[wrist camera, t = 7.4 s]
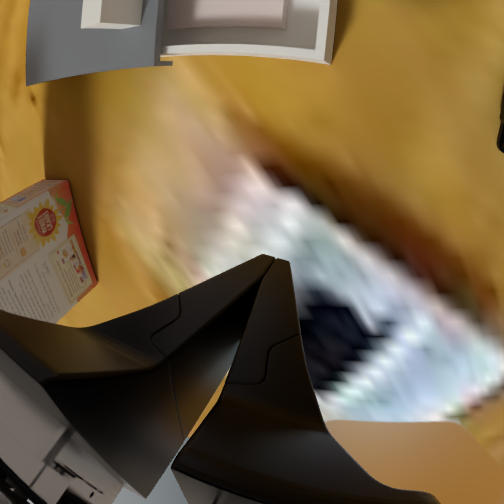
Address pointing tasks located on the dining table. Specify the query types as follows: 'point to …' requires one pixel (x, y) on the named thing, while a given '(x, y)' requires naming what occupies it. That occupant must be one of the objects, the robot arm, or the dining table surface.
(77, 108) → the dining table surface
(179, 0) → the tray
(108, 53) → the lid
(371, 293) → the dining table surface
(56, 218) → the cracker box
